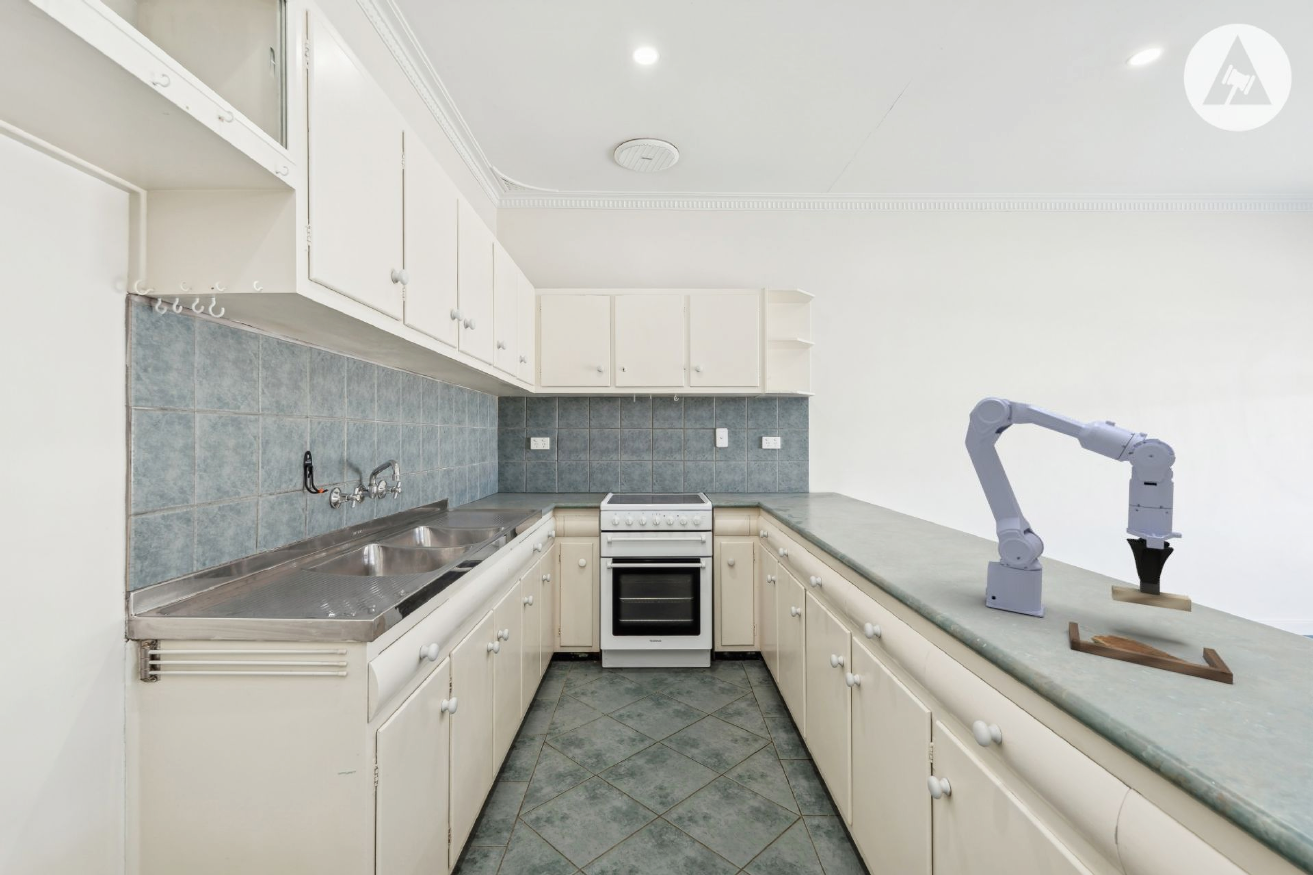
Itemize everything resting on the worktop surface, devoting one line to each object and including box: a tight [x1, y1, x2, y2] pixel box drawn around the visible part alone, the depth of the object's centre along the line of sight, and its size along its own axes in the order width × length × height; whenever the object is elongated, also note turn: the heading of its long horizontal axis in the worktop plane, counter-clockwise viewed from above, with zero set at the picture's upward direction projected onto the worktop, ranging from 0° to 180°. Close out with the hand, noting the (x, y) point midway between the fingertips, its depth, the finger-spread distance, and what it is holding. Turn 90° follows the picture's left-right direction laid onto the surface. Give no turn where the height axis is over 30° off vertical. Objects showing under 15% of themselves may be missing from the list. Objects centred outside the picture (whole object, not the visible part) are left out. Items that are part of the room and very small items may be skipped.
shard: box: [1091, 634, 1188, 662], centre depth 83 cm, size 11×8×2 cm
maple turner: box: [1111, 578, 1192, 613], centre depth 91 cm, size 10×3×7 cm, turn 52°
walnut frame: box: [1068, 621, 1234, 685], centre depth 84 cm, size 18×11×2 cm, turn 52°
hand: (1147, 581), depth 91 cm, fingers closed on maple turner, 2 cm apart
